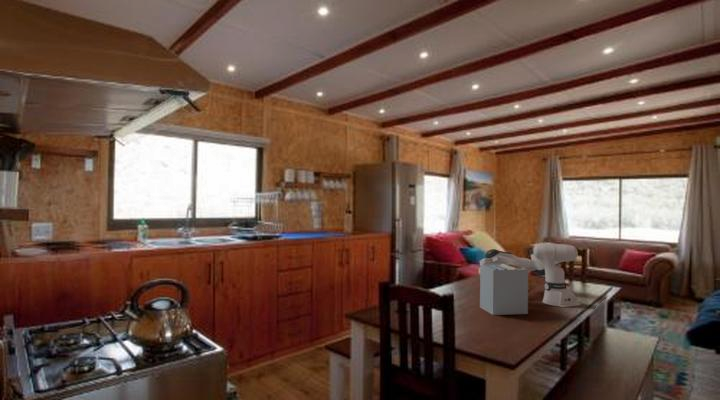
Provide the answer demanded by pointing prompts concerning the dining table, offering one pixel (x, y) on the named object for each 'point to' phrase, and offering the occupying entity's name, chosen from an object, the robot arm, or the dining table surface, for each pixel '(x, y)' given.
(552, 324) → the dining table surface
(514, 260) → the gauge bar
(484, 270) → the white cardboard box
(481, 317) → the dining table surface
